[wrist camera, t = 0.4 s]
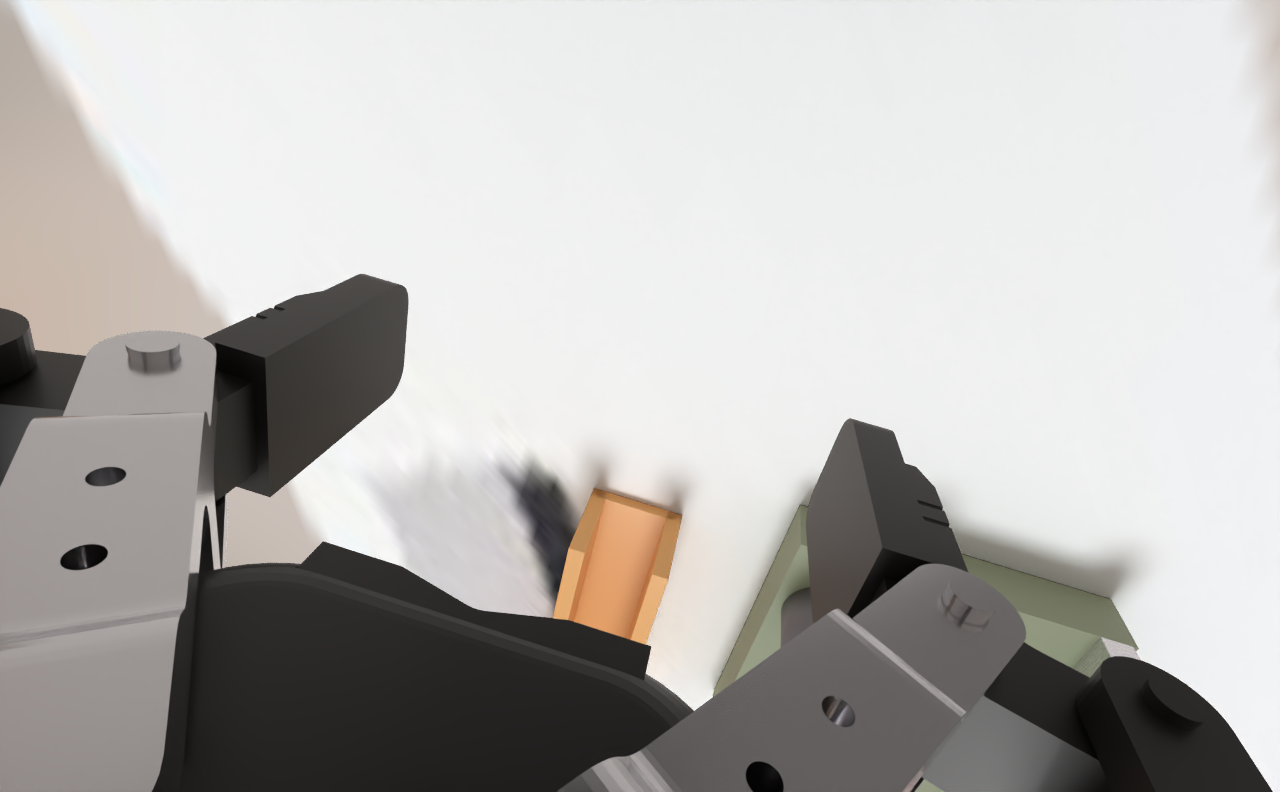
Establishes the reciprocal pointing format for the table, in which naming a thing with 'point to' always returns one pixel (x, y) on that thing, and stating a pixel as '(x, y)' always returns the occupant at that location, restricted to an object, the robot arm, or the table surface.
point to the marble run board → (1047, 608)
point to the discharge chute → (618, 566)
